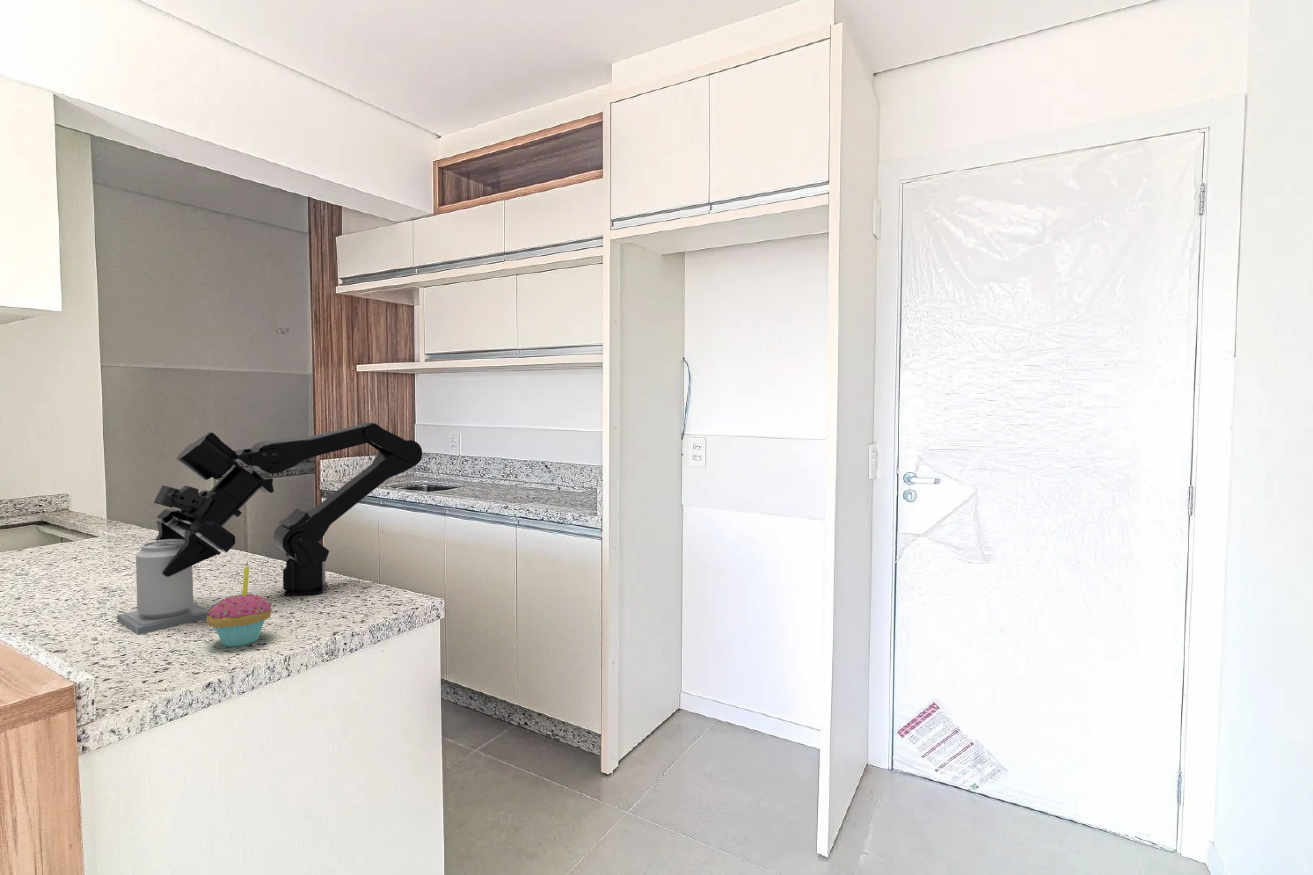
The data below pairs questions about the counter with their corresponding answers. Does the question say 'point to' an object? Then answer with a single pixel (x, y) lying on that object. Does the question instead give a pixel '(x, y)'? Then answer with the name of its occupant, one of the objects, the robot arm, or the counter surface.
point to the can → (162, 581)
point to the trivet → (160, 620)
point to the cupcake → (239, 616)
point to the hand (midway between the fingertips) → (154, 570)
